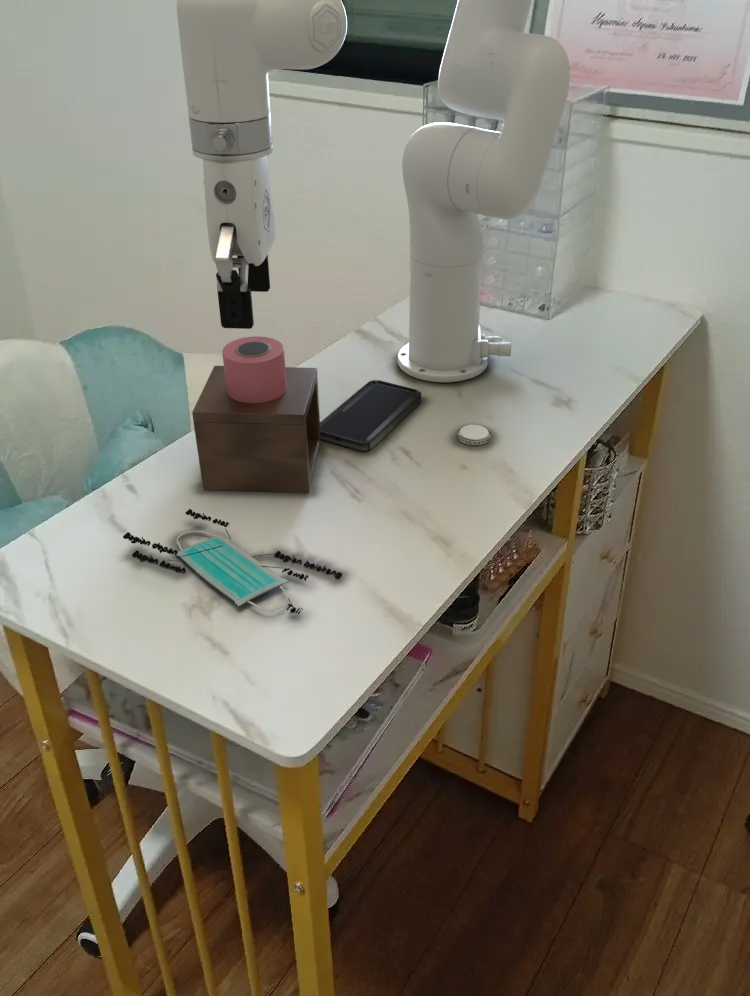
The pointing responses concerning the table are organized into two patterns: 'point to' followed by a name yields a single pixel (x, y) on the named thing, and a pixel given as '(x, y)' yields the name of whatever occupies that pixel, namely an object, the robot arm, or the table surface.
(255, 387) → the tape roll
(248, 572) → the surgical mask
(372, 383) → the phone
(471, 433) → the white bottle cap
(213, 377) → the desk shelf
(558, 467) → the table surface
